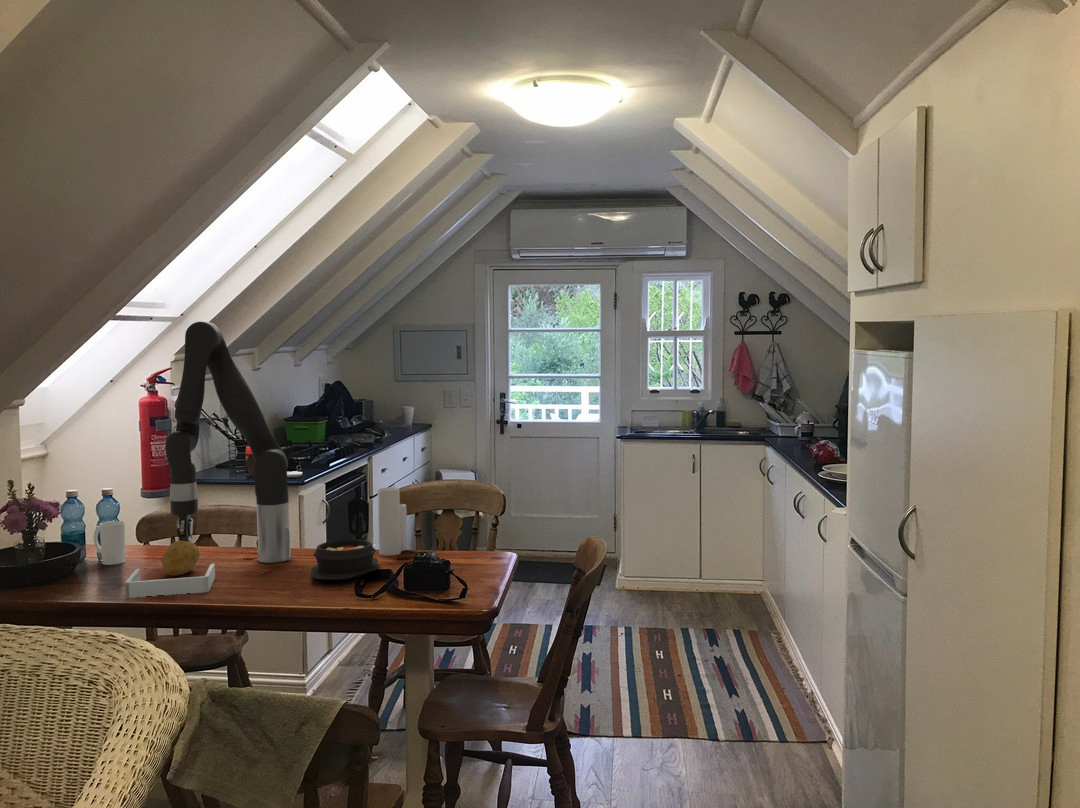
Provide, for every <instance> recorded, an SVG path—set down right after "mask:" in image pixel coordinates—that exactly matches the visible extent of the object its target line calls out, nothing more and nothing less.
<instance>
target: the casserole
mask: <svg viewBox="0 0 1080 808" xmlns="http://www.w3.org/2000/svg"><path fill="white" fill-rule="evenodd" d="M376 551H377V550H376V548H374V546H373V543H372V542H371V541H370V540H369V541H368V540H366V539H365V540H364V539H352V538H351V539H350V538H349V539H348V538H347V539H337V540H331V541H330V540H329V541H326V542H323V543H320V544H318V545H317V547H316V549H315V551H314V553H313V557H314V558H315V559H316V565H313V567H311V569H310V572H311V573H310V576H309V577H310V578H312V579H315V580H324V581H325V580H326V581H339V580H340V581H341V580H348V579H355V578H359V577H361V576H364V575H363V574H365V575H366V573H367V572H369V573H371V572H370V571H372V572H374V571H376V570H377V569H378V568H380V565H379V563H378V562H379V559H378V558H376V557H374V554H375V553H376ZM367 574H368V573H367Z"/></svg>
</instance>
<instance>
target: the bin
mask: <svg viewBox="0 0 1080 808" xmlns="http://www.w3.org/2000/svg"><path fill="white" fill-rule="evenodd" d="M141 576H142V575H141V568H136V569H135V570H134V571H133V572H132V573H131V575H130V576H129V577H128V578H127V579H126V581H125V582H124V599H125V600H126V599H136V598H137V597H139V598H147V597H146V596H152V597H158V596H157V595H164V596H174V595H175V596H176V594H177V595H188V594H187V593H190V594H200V593H201V594H202V593H209V592H210V590H211V588H212V586H213V584H214V581H215V579H216V563H211V564H210V565H209V567H208V568H207V571H206V572H205V575H204V576H203V575H201V576H190V577H177V578H175V577H174V578H165V579H164V578H163V579H161V578H160V579H150V580H141V579H142V578H141ZM173 594H174V595H173Z"/></svg>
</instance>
